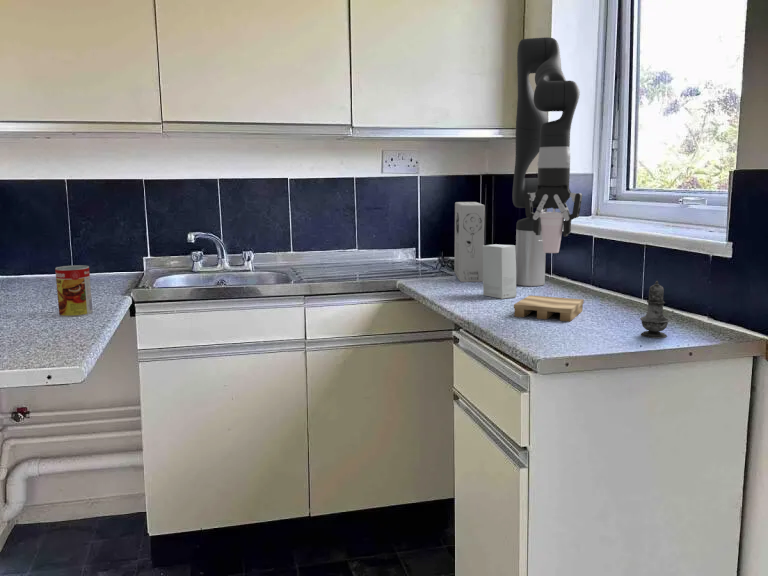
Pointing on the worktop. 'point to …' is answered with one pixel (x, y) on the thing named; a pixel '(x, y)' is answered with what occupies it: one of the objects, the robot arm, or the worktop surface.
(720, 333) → the worktop surface
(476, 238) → the cereal box
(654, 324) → the salt shaker
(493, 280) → the skincare box
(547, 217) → the smoothie
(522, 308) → the tan wavy panel
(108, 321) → the worktop surface
